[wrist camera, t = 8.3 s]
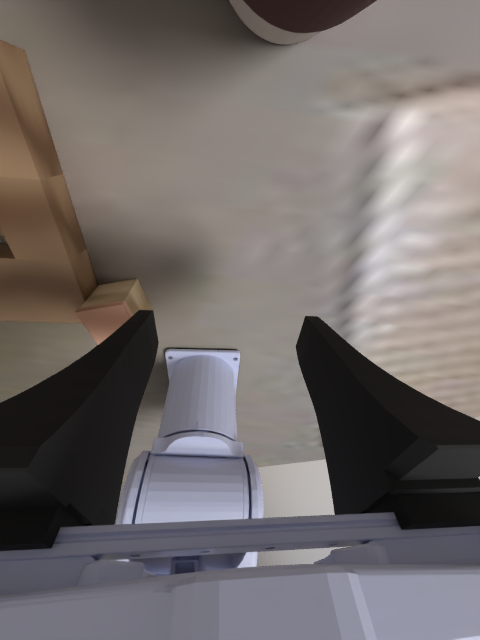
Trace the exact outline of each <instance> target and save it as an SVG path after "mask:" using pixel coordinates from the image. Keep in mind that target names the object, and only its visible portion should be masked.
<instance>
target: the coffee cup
mask: <svg viewBox="0 0 480 640" xmlns="http://www.w3.org/2000/svg"><path fill="white" fill-rule="evenodd" d="M229 1H230V3H231V5H232V7H233V8H234V10H235V12H236V13H237V15H238V16H239V17H240V19H241V20H242V21H243V23H244V24H245V25H246V26H247V27H248V28H249V29H250V30H251V31H253V32H254V33H255V34H256V35H258V36H259V37H261V38H263V39H265V40H267V41H269V42H273V43H276V44H295V43H299V42H302V41H305V40H307V39H309V38H311V37H313V36H315V35H316V34H318V33H319V32H321V31H323V30H327V29H329V28H332V27H334V26H336V25H339V24H341V23H343V22H344V21H346V20H348V19H349V18H351V17H353V16H354V15H356V14H357V13H359V12H360V11H362V10H363V9H365V8H366V7H368V6H369V5H371V4H372V3H374V2H375V1H377V0H229Z"/></svg>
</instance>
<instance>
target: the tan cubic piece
mask: <svg viewBox="0 0 480 640" xmlns="http://www.w3.org/2000/svg"><path fill="white" fill-rule="evenodd" d="M139 310H152V308H151V306H150V304H149V302H148V300H147V298H146V295H145V293H144V291H143V289H142V287H141V285H140V283H139V281H138V279H132V280H126V281H120V282H114V283H108V284H102V285H98V286H97V288H96V289H95V290H94V291H93V292H92V294H91V295H90V296H89V297H88V299H87V300H86V301H85V302H84V303H83V305H82V306H81V307H80V308H78V309H77V310H76V311H75V314H76V315H77V316H78V318H79V319H80V320H81V322H82V323H83V325H84V326H85V327H86V329H87V330H88V331H89V333H90V334H91V336H92V337H93V338H94V340H95V341H96V342H97V344H98V345H99V344H100V343H101V342H103V341H104V340H105V339H106V338H108V337H109V336H110V335H111V334H112V333H114V332H115V331H116V330H117V329H118V328H119V327H120V326H122V325H123V324H124V323H125V322H126V321H127V320H128V319H129V318H131V317H132V316H133V315H134V314H135V313H136V312H137V311H139Z"/></svg>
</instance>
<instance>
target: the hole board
mask: <svg viewBox="0 0 480 640" xmlns="http://www.w3.org/2000/svg"><path fill="white" fill-rule="evenodd" d="M0 229H1V231H2V233H3V235H4V237H5V239H6V241H7V243H8V244H4V243H0V321H29V322H60V323H82V322H81V320H80V319H79V318H78V316H77V315H76V314H75V311H76V310H77V309H78V308H80V307H81V306H82V305H83V303H84V302H85V301H86V300H87V299H88V297H89V296H90V295H91V294H92V292H93V291H94V290H95V289H96V288H97V286H98V285H97V281H96V278H95V275H94V272H93V269H92V265H91V262H90V259H89V256H88V253H87V249H86V246H85V243H84V240H83V237H82V233H81V230H80V227H79V224H78V221H77V217H76V214H75V211H74V208H73V205H72V201H71V198H70V195H69V192H68V189H67V185H66V182H65V179H64V176H63V173H62V169H61V166H60V163H59V160H58V157H57V153H56V150H55V147H54V144H53V140H52V137H51V134H50V131H49V128H48V124H47V121H46V118H45V115H44V112H43V108H42V105H41V102H40V99H39V96H38V92H37V89H36V86H35V83H34V80H33V76H32V73H31V70H30V67H29V64H28V60H27V57H26V54H25V51H24V50H23V49H21V48H18V47H16V46H14V45H11V44H9V43H7V42H4V41H2V40H0Z"/></svg>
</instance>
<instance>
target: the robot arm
mask: <svg viewBox="0 0 480 640" xmlns="http://www.w3.org/2000/svg"><path fill="white" fill-rule="evenodd" d="M157 348H158V337H157V331H156V325H155V319H154V313H153V310H139V311H137V312H136V313H135V314H134V315H133V316H132V317H131V318H129V319H128V320H127V321H126V322H125V323H124V324H123V325H122V326H120V327H119V328H118V329H117V330H116V331H115V332H114V333H112V334H111V335H110V336H109V337H108V338H106V339H105V340H104V341H103V342H101V343H100V344H99V345H97V346H96V347H95V348H94V349H92V350H91V351H90V352H88V353H87V354H86V355H84V356H83V357H81V358H80V359H78V360H77V361H75V362H74V363H72V364H71V365H69V366H68V367H66V368H65V369H63V370H61V371H60V372H58V373H56V374H54V375H53V376H51V377H49V378H47V379H46V380H44V381H42V382H41V383H39V384H37V385H35V386H33V387H32V388H30V389H28V390H26V391H24V392H22V393H20V394H18V395H16V396H14V397H12V398H10V399H8V400H6V401H4V402H2V403H0V640H480V480H479V478H478V477H479V476H480V421H478V420H476V419H474V418H472V417H469V416H467V415H465V414H463V413H461V412H458V411H456V410H454V409H452V408H450V407H447V406H445V405H443V404H442V403H440V402H438V401H436V400H434V399H432V398H430V397H428V396H426V395H424V394H422V393H420V392H419V391H417V390H415V389H413V388H412V387H410V386H408V385H406V384H405V383H403V382H401V381H400V380H398V379H396V378H395V377H393V376H392V375H390V374H389V373H387V372H386V371H384V370H383V369H381V368H380V367H378V366H377V365H375V364H374V363H373V362H371V361H370V360H368V359H367V358H366V357H365V356H363V355H362V354H361V353H359V352H358V351H357V350H356V349H355V348H353V347H352V346H351V345H350V344H349V343H347V342H346V341H345V340H344V339H343V338H342V337H340V336H339V335H338V334H337V333H336V332H335V331H334V330H333V329H331V328H330V327H329V326H328V325H327V324H326V323H325V322H324V321H322V320H321V319H320V318H319V317H315V316H305V319H304V322H303V325H302V329H301V332H300V335H299V338H298V341H297V344H296V351H297V356H298V361H299V365H300V368H301V371H302V374H303V377H304V380H305V383H306V386H307V388H308V391H309V394H310V397H311V400H312V403H313V406H314V409H315V412H316V416H317V420H318V424H319V429H320V433H321V437H322V442H323V447H324V452H325V457H326V462H327V468H328V473H329V479H330V485H331V491H332V498H333V504H334V512H335V515H322V516H298V517H276V518H263V490H262V482H261V477H260V473H259V470H258V467H257V465H256V464H255V462H254V461H253V459H252V458H251V456H249V455H243V443H242V442H237V427H236V404H235V393H236V385H237V377H238V369H239V361H240V352H239V351H236V350H195V349H167V350H166V352H165V357H166V364H167V370H168V377H169V387H168V392H167V397H166V401H165V406H164V410H163V415H162V420H161V424H160V429H159V433H158V438H154V442H153V446H152V450H151V451H143V452H142V453H141V454H140V455H139V456H138V457H137V458H136V459H135V460H134V461H133V463H132V465H131V467H130V470H129V473H128V476H127V479H126V482H125V486H124V490H123V493H122V497H121V501H120V506H119V510H118V515H117V520H116V525H114V524H115V519H116V513H117V507H118V501H119V496H120V490H121V484H122V480H123V475H124V470H125V464H126V459H127V455H128V450H129V446H130V441H131V437H132V432H133V428H134V424H135V420H136V416H137V412H138V409H139V405H140V402H141V400H142V397H143V394H144V391H145V388H146V386H147V383H148V380H149V377H150V374H151V371H152V368H153V365H154V362H155V358H156V353H157ZM170 356H172V357H170ZM235 357H236V358H235ZM346 546H351V547H346ZM330 547H346V548H340V549H335V550H332V551H331V553H330V555H329V556H328V557H326V558H324V559H322V560H319V561H317V562H314V564H299V565H276V566H259V567H256V566H257V552H260V551H277V550H295V549H311V548H330ZM110 560H112V561H110Z"/></svg>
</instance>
